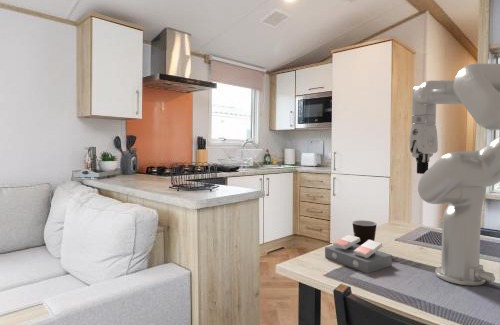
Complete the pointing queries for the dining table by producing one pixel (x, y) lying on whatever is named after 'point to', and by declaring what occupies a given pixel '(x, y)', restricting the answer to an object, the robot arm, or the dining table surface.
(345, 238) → the rocker
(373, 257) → the rocker switch panel
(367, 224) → the coffee mug
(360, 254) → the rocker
